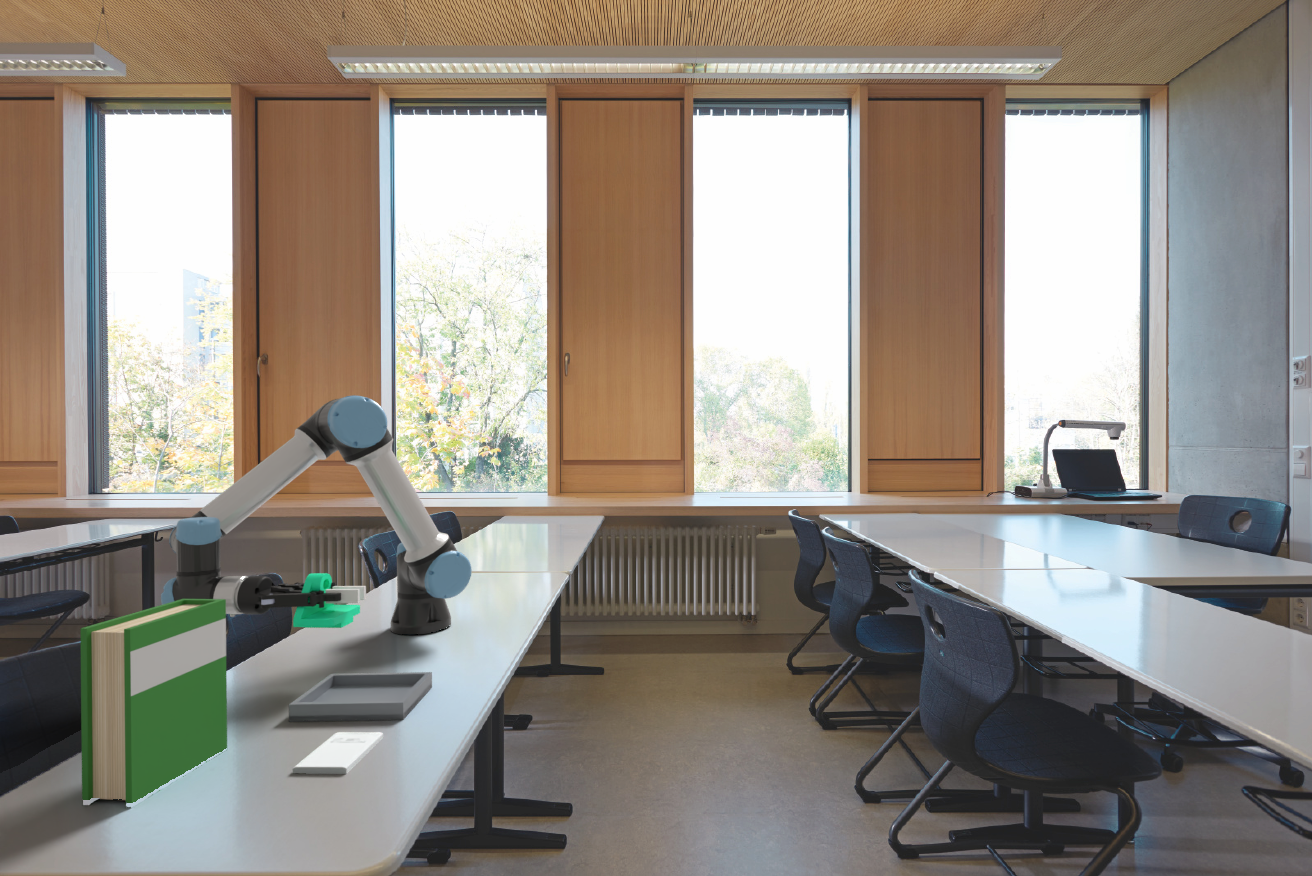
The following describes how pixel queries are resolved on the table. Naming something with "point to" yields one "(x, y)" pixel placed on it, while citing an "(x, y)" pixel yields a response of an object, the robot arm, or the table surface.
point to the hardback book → (152, 697)
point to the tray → (361, 697)
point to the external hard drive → (339, 753)
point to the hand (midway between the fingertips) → (361, 594)
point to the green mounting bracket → (329, 613)
